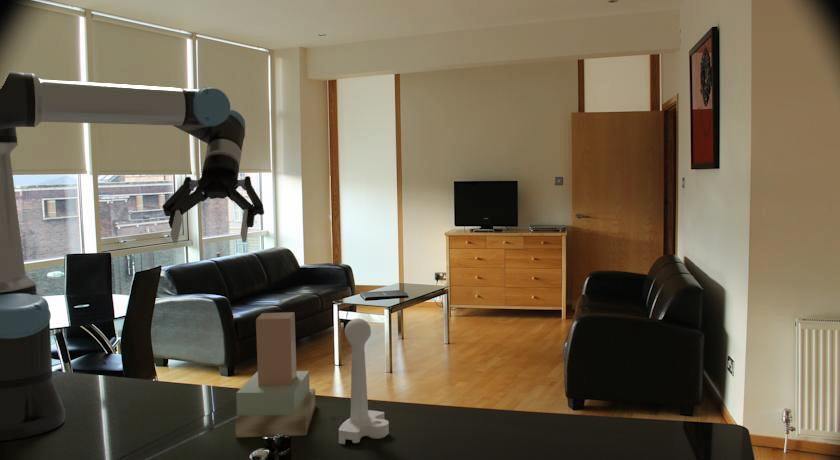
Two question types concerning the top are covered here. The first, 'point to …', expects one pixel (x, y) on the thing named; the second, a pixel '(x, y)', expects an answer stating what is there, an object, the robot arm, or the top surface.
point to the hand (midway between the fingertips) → (208, 238)
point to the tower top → (272, 397)
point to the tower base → (278, 421)
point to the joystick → (360, 391)
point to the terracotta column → (276, 348)
